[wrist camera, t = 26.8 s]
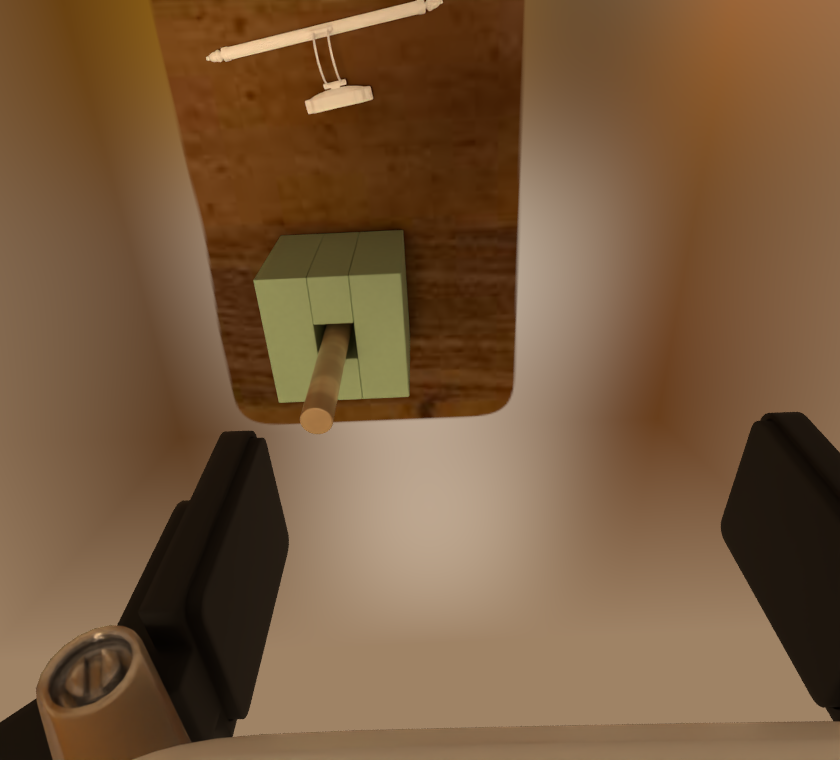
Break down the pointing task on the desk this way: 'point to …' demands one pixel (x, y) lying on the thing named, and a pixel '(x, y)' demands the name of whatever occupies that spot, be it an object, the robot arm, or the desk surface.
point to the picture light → (336, 94)
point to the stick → (326, 379)
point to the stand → (337, 311)
